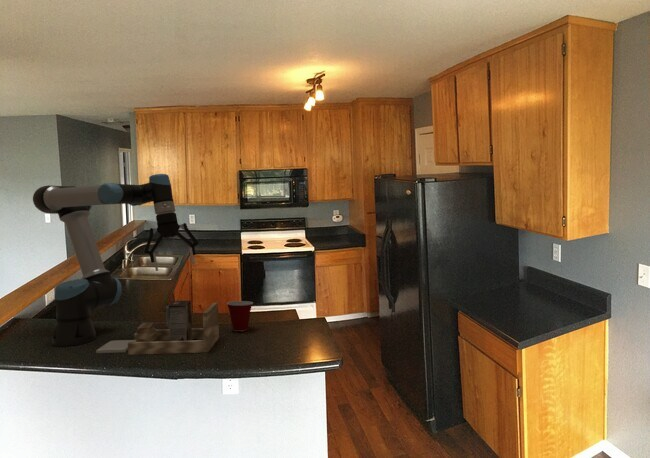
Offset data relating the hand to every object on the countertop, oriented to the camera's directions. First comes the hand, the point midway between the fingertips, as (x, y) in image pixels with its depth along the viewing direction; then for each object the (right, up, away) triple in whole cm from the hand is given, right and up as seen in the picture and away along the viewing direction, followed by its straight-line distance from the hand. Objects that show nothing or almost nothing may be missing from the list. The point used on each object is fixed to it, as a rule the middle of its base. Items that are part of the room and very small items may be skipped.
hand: (175, 267), depth 175 cm
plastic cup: (+23, -27, +12) cm, 38 cm away
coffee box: (+5, -29, -8) cm, 30 cm away
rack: (+3, -29, -8) cm, 30 cm away
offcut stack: (-8, -29, -8) cm, 31 cm away
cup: (-5, -28, +16) cm, 33 cm away
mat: (-19, -29, -8) cm, 35 cm away
